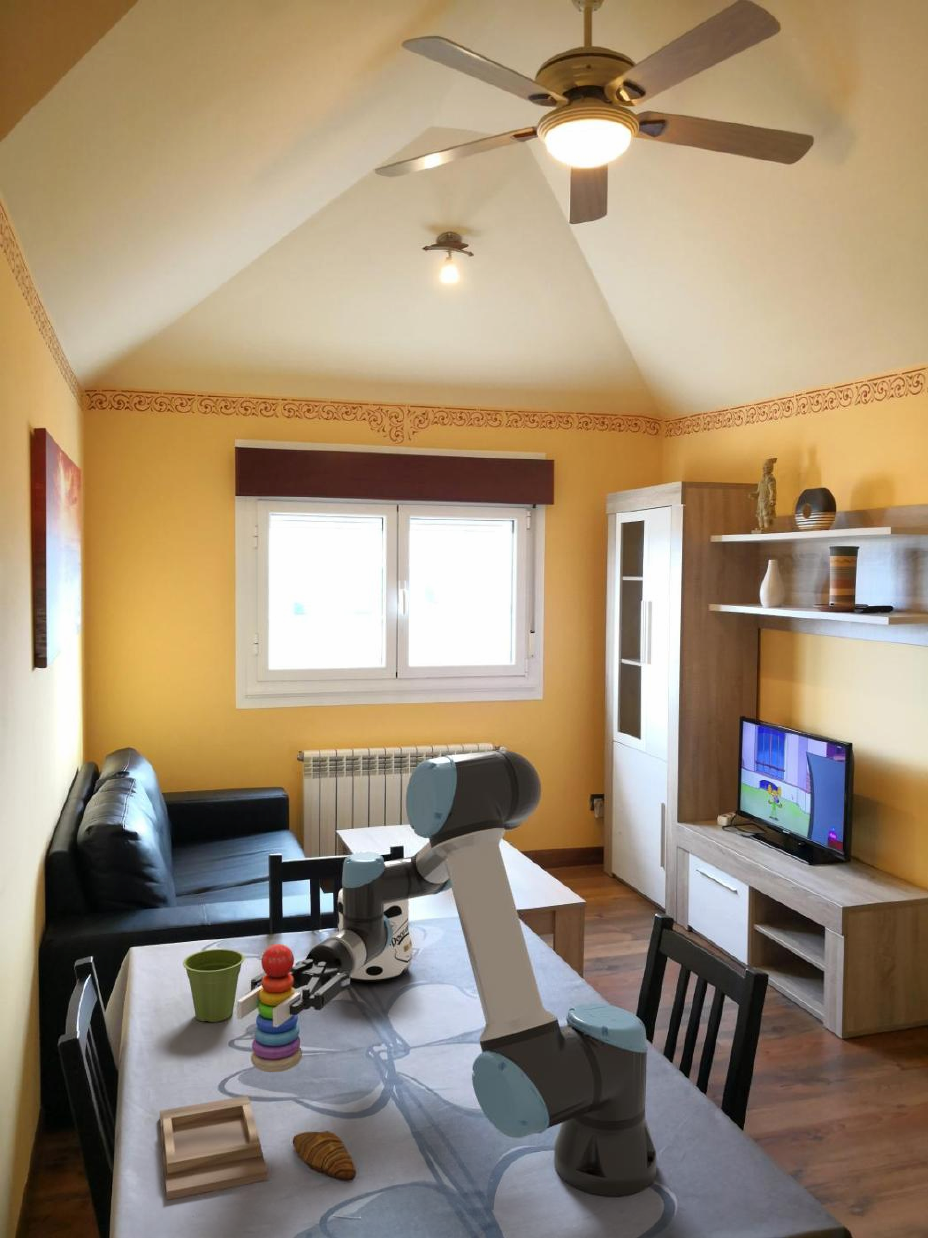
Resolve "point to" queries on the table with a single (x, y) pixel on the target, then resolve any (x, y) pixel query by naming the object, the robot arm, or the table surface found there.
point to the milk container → (396, 954)
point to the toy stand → (210, 1147)
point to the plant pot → (213, 982)
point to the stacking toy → (271, 1043)
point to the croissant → (325, 1154)
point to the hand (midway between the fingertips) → (257, 1014)
